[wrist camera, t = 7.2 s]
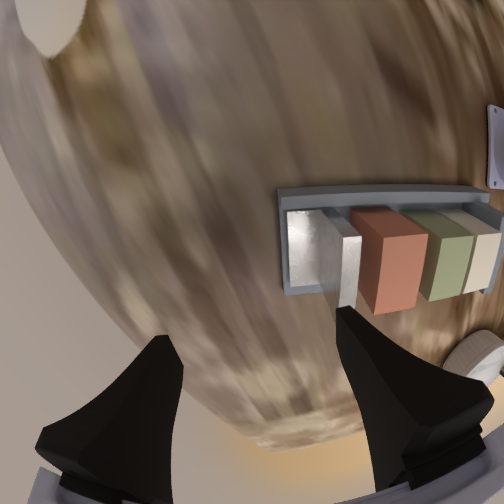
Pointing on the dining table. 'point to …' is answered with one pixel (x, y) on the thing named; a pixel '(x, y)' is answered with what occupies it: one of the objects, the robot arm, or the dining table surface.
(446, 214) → the cream book
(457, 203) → the shelf
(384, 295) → the rust book
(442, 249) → the olive block
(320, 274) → the bookend
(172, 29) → the dining table surface
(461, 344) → the ramekin
